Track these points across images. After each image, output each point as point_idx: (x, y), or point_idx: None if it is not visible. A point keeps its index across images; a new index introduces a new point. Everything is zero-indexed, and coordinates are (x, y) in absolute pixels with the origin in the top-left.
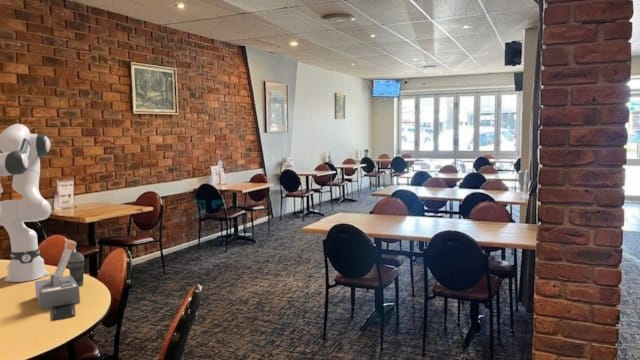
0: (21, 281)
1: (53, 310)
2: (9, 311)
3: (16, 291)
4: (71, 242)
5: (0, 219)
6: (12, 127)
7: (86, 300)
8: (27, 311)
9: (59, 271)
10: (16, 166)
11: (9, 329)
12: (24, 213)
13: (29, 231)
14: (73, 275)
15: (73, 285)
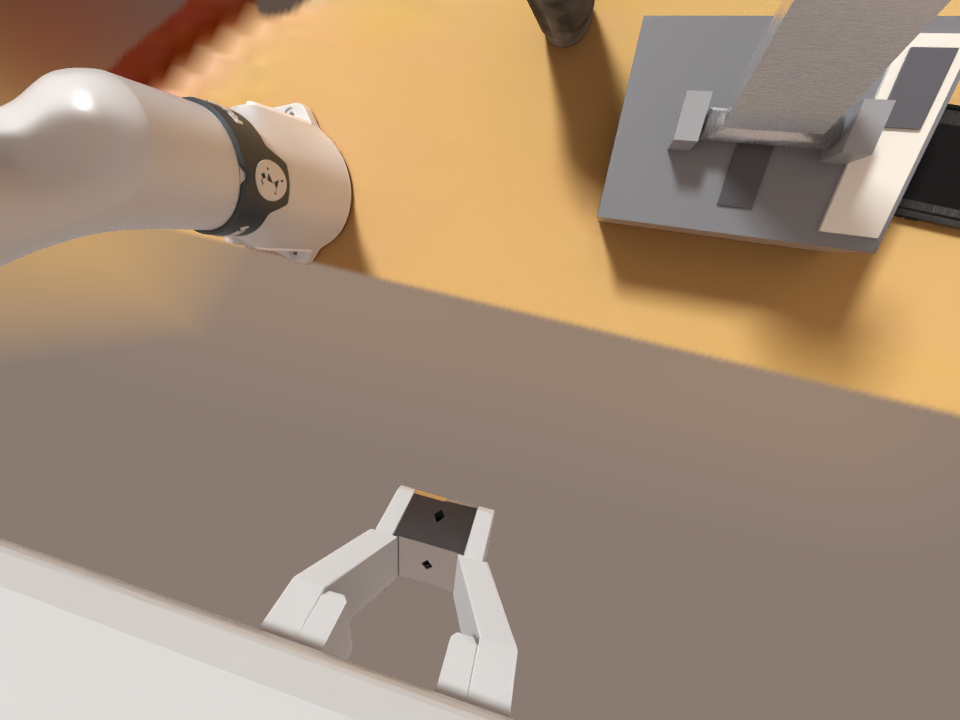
0: (346, 219)
1: (917, 212)
2: (696, 340)
3: (452, 260)
4: None
5: (486, 547)
6: None
7: None
8: (770, 293)
9: (865, 86)
10: None
11: (953, 400)
12: None
13: (87, 109)
14: (583, 5)
15: (944, 47)
